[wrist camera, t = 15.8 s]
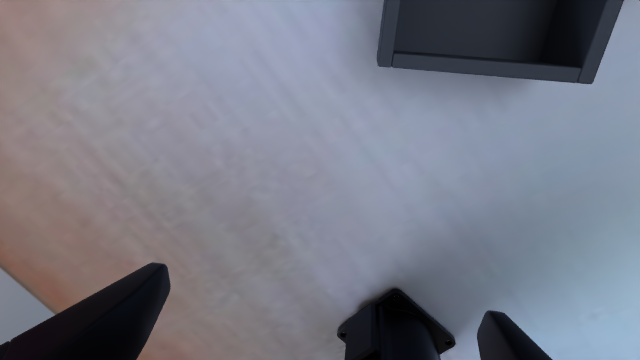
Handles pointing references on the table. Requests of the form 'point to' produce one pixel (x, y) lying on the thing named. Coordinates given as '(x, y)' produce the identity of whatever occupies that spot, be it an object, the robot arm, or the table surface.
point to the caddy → (498, 37)
